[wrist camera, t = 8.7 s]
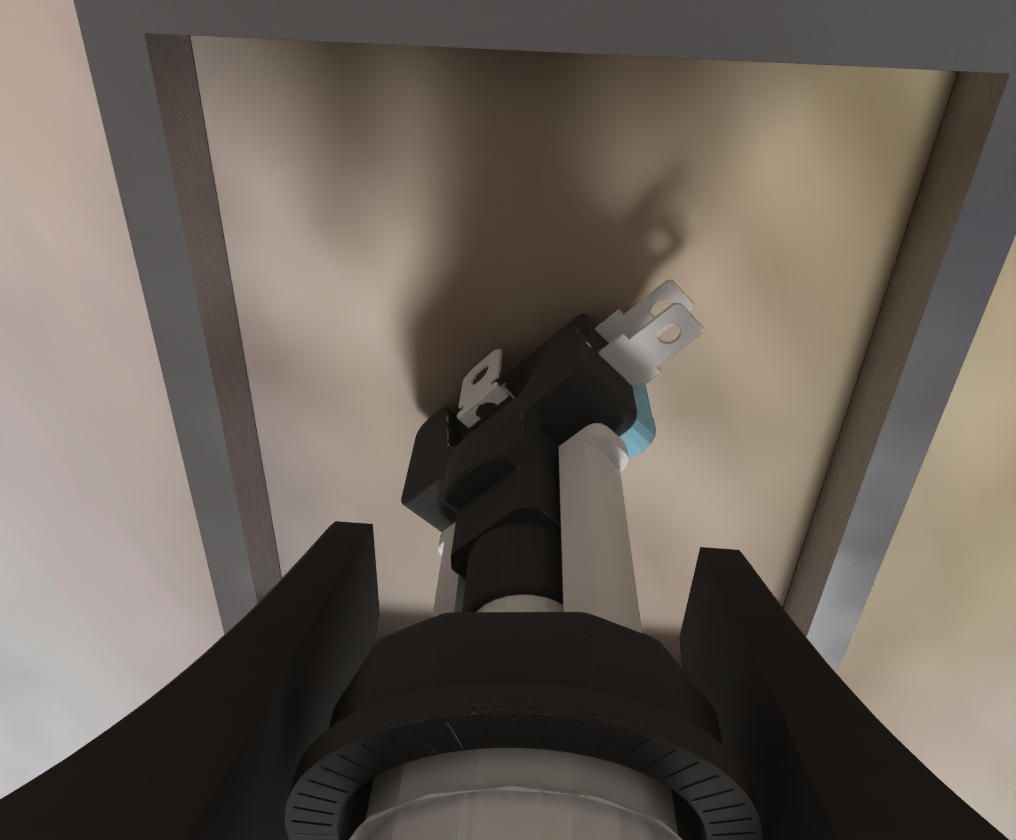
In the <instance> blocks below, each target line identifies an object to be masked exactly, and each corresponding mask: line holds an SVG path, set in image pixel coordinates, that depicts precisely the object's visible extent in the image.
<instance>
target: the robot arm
mask: <svg viewBox="0 0 1016 840" xmlns="http://www.w3.org/2000/svg"><path fill="white" fill-rule="evenodd" d="M379 616H380V612H379V599H378V586H377V573H376V560H375V547H374V534H373V524H365V523H351V522H337V521H336V522H334V523H333V524H332V525H331V526H329V527H328V529H327V530H326V531H325V532H324V533H323V534H322V535H321V536H320V538H319V539H318V540H317V541H316V542H315V543H314V544H313V545H312V546H311V548H310V549H309V550H308V551H307V552H306V553H305V554H304V555H303V556H302V558H301V559H300V560H299V561H298V562H297V563H296V564H295V565H294V566H293V567H292V568H291V569H290V570H289V571H288V573H287V574H286V575H285V576H284V577H283V578H282V579H281V580H280V581H279V582H278V583H277V584H276V585H275V586H274V587H273V588H272V589H271V590H270V591H269V592H268V593H267V594H266V595H265V596H264V597H263V598H262V599H261V600H260V601H259V602H258V603H257V604H256V605H255V606H254V607H253V608H252V609H251V610H250V611H249V612H248V613H247V614H246V615H245V616H244V617H243V618H242V619H241V620H240V621H239V622H238V623H237V624H236V625H235V626H234V627H232V628H231V629H230V630H229V631H228V632H227V633H226V634H225V635H224V636H223V637H222V638H220V639H219V640H218V641H217V642H216V643H215V644H214V645H213V646H212V647H211V648H210V649H209V650H207V651H206V652H205V653H204V654H203V655H202V656H201V657H200V658H198V659H197V660H196V661H195V662H194V663H193V664H191V665H190V666H189V667H188V668H187V669H186V670H184V671H183V672H182V673H181V674H180V675H178V676H177V677H176V678H175V679H174V680H172V681H171V682H170V683H169V684H167V685H166V686H165V687H164V688H162V689H161V690H160V691H159V692H157V693H156V694H155V695H153V696H152V697H151V698H150V699H148V700H147V701H146V702H145V703H143V704H142V705H141V706H139V707H138V708H137V709H135V710H134V711H133V712H131V713H130V714H128V715H127V716H126V717H124V718H123V719H122V720H120V721H119V722H117V723H116V724H115V725H113V726H112V727H111V728H109V729H108V730H106V731H105V732H104V733H102V734H101V735H99V736H98V737H96V738H95V739H93V740H92V741H91V742H89V743H88V744H86V745H85V746H83V747H82V748H81V749H79V750H78V751H76V752H75V753H73V754H72V755H70V756H69V757H67V758H66V759H64V760H63V761H61V762H60V763H58V764H57V765H55V766H53V767H52V768H50V769H49V770H47V771H46V772H44V773H42V774H41V775H39V776H38V777H36V778H34V779H33V780H31V781H30V782H28V783H26V784H25V785H23V786H22V787H20V788H18V789H17V790H15V791H13V792H12V793H10V794H8V795H7V796H5V797H3V798H2V799H0V840H289V838H288V835H287V831H286V827H285V809H286V804H287V800H288V796H289V793H290V789H291V786H292V782H293V778H294V775H295V771H296V768H297V766H298V764H299V762H300V760H301V758H302V756H303V755H304V753H305V752H306V751H307V749H308V748H309V746H310V745H311V744H312V743H313V742H314V741H315V740H316V739H317V738H318V737H319V736H320V735H321V734H322V733H323V732H325V731H326V730H328V728H329V725H330V721H331V717H332V713H333V709H334V707H335V705H336V704H337V702H338V701H339V699H340V698H341V696H342V694H343V693H344V691H345V690H346V688H347V687H348V685H349V684H350V682H351V681H352V679H353V678H354V676H355V675H356V673H357V671H358V670H359V668H360V667H361V665H362V664H363V662H364V661H365V659H366V658H367V656H368V655H369V653H370V652H371V650H372V648H373V645H374V640H375V635H376V631H377V626H378V621H379ZM679 638H680V649H681V660H682V669H683V670H684V672H685V673H686V674H687V675H688V677H689V678H690V679H691V680H692V682H693V683H694V684H695V685H696V686H697V688H698V689H699V690H700V691H701V693H702V694H703V695H704V696H705V697H706V699H707V700H708V701H709V702H710V704H711V705H712V706H713V708H714V709H715V711H716V715H717V719H718V724H719V729H720V733H721V738H722V743H723V745H724V746H725V747H726V748H727V749H728V750H729V751H730V752H731V753H732V754H733V755H734V757H735V758H736V759H737V760H738V761H739V763H740V764H741V766H742V767H743V769H744V770H745V771H746V773H747V776H748V778H749V780H750V782H751V785H752V788H753V793H754V797H755V801H756V805H757V809H758V814H759V818H760V823H761V827H762V840H1009V839H1008V838H1006V837H1005V836H1004V835H1003V834H1002V833H1001V832H999V831H998V830H997V829H996V828H995V827H994V826H992V825H991V824H990V823H989V822H988V821H987V820H985V819H984V818H983V817H982V816H981V815H979V814H978V813H977V812H976V811H975V810H974V809H972V808H971V807H970V806H969V805H968V804H967V803H965V802H964V801H963V800H962V799H961V798H960V797H959V796H957V795H956V794H955V793H954V792H953V791H952V790H951V789H950V788H949V787H947V786H946V785H945V784H944V783H943V782H942V781H941V780H940V779H939V778H937V777H936V776H935V775H934V774H933V773H932V772H931V771H930V770H929V769H928V768H927V767H926V766H925V765H924V764H923V763H922V762H921V761H920V760H919V759H918V758H917V757H915V756H914V755H913V754H912V753H911V752H910V751H909V750H908V749H907V748H906V747H905V746H904V745H903V744H902V743H901V742H900V741H899V740H898V739H897V738H896V737H895V736H894V735H893V734H892V733H891V732H890V731H889V730H888V729H887V728H886V727H885V726H884V725H883V724H882V723H881V722H880V721H879V720H878V719H877V718H876V717H875V716H874V715H873V714H872V713H871V712H870V710H869V709H868V708H867V707H866V706H865V705H864V704H863V703H862V702H861V701H860V699H859V698H858V697H857V696H856V695H855V694H854V693H853V692H852V691H851V690H850V688H849V687H848V686H847V685H846V684H845V683H844V682H843V681H842V679H841V678H840V677H839V676H838V675H837V674H836V672H835V671H834V670H833V669H832V668H831V667H830V665H829V664H828V663H827V662H826V661H825V659H824V658H823V657H822V656H821V655H820V653H819V652H818V651H817V650H816V648H815V647H814V646H813V645H812V644H811V642H810V641H809V640H808V639H807V638H806V636H805V635H804V634H803V633H802V631H801V630H800V629H799V628H798V626H797V625H796V624H795V623H794V621H793V620H792V619H791V618H790V616H789V615H788V614H787V612H786V611H785V610H784V608H783V607H782V606H781V604H780V603H779V602H778V601H777V599H776V598H775V597H774V595H773V594H772V593H771V591H770V590H769V589H768V587H767V586H766V585H765V583H764V582H763V581H762V579H761V578H760V577H759V575H758V574H757V573H756V571H755V570H754V569H753V567H752V566H751V564H750V563H749V562H748V560H747V559H746V558H745V557H744V555H743V554H742V553H741V552H740V551H739V550H732V549H718V548H704V547H700V551H699V555H698V559H697V564H696V568H695V572H694V577H693V581H692V585H691V590H690V594H689V598H688V603H687V607H686V611H685V616H684V620H683V624H682V629H681V633H680V637H679Z"/></svg>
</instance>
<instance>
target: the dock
mask: <svg viewBox="0 0 1016 840" xmlns="http://www.w3.org/2000/svg"><path fill="white" fill-rule="evenodd" d="M74 4H75V8H76V12H77V17H78V21H79V25H80V29H81V33H82V38H83V42H84V46H85V50H86V54H87V59H88V63H89V67H90V71H91V75H92V80H93V84H94V88H95V92H96V96H97V101H98V105H99V109H100V113H101V117H102V122H103V126H104V130H105V134H106V138H107V143H108V147H109V151H110V155H111V159H112V164H113V168H114V172H115V176H116V180H117V185H118V189H119V193H120V197H121V201H122V206H123V210H124V214H125V218H126V222H127V227H128V231H129V235H130V239H131V243H132V248H133V252H134V256H135V260H136V264H137V269H138V273H139V277H140V281H141V285H142V290H143V294H144V298H145V302H146V306H147V311H148V315H149V319H150V323H151V327H152V332H153V336H154V340H155V344H156V348H157V353H158V357H159V361H160V365H161V369H162V373H163V378H164V382H165V386H166V390H167V394H168V399H169V403H170V407H171V411H172V415H173V420H174V424H175V428H176V432H177V436H178V441H179V445H180V449H181V453H182V457H183V462H184V466H185V470H186V474H187V478H188V483H189V487H190V491H191V495H192V499H193V504H194V508H195V512H196V516H197V520H198V525H199V529H200V533H201V537H202V541H203V546H204V550H205V554H206V558H207V562H208V567H209V571H210V575H211V579H212V583H213V588H214V592H215V596H216V600H217V604H218V609H219V613H220V617H221V621H222V625H223V630H224V634H226V633H227V632H228V631H229V630H230V629H231V628H232V627H234V626H235V625H236V624H237V623H238V622H239V621H240V620H241V619H242V618H243V617H244V616H245V615H246V614H247V613H248V612H249V611H250V610H251V609H252V608H253V607H254V606H255V605H256V604H257V603H258V602H259V601H260V600H261V599H262V598H263V597H264V596H265V595H266V594H267V593H268V592H269V591H270V590H271V589H272V588H273V587H274V586H275V585H276V584H277V583H278V582H279V581H280V580H281V573H280V567H279V561H278V555H277V549H276V544H275V538H274V532H273V526H272V520H271V514H270V508H269V502H268V496H267V491H266V485H265V479H264V473H263V467H262V461H261V455H260V449H259V444H258V438H257V432H256V426H255V420H254V414H253V408H252V402H251V396H250V391H249V385H248V379H247V373H246V367H245V361H244V355H243V349H242V343H241V338H240V332H239V326H238V320H237V314H236V308H235V302H234V296H233V291H232V285H231V279H230V273H229V267H228V261H227V255H226V249H225V243H224V238H223V232H222V226H221V220H220V214H219V208H218V202H217V196H216V191H215V185H214V179H213V173H212V167H211V161H210V155H209V149H208V143H207V138H206V132H205V126H204V120H203V114H202V108H201V102H200V96H199V91H198V85H197V79H196V73H195V67H194V61H193V55H192V49H191V43H190V38H189V35H197V36H218V37H239V38H261V39H282V40H304V41H325V42H347V43H368V44H390V45H411V46H432V47H454V48H475V49H497V50H518V51H540V52H561V53H583V54H604V55H625V56H647V57H668V58H690V59H711V60H733V61H754V62H776V63H797V64H818V65H840V66H861V67H883V68H904V69H926V70H947V71H959V73H958V76H957V79H956V82H955V85H954V88H953V92H952V95H951V98H950V101H949V104H948V107H947V110H946V113H945V116H944V119H943V122H942V125H941V128H940V131H939V134H938V137H937V140H936V143H935V146H934V150H933V153H932V156H931V159H930V162H929V165H928V168H927V171H926V174H925V177H924V180H923V183H922V186H921V189H920V192H919V195H918V198H917V201H916V205H915V208H914V211H913V214H912V217H911V220H910V223H909V226H908V229H907V232H906V235H905V238H904V241H903V244H902V247H901V250H900V253H899V256H898V259H897V263H896V266H895V269H894V272H893V275H892V278H891V281H890V284H889V287H888V290H887V293H886V296H885V299H884V302H883V305H882V308H881V311H880V314H879V318H878V321H877V324H876V327H875V330H874V333H873V336H872V339H871V342H870V345H869V348H868V351H867V354H866V357H865V360H864V363H863V366H862V369H861V373H860V376H859V379H858V382H857V385H856V388H855V391H854V394H853V397H852V400H851V403H850V406H849V409H848V412H847V415H846V418H845V421H844V424H843V427H842V431H841V434H840V437H839V440H838V443H837V446H836V449H835V452H834V455H833V458H832V461H831V464H830V467H829V470H828V473H827V476H826V479H825V482H824V486H823V489H822V492H821V495H820V498H819V501H818V504H817V507H816V510H815V513H814V516H813V519H812V522H811V525H810V528H809V531H808V534H807V537H806V541H805V544H804V547H803V550H802V553H801V556H800V559H799V562H798V565H797V568H796V571H795V574H794V577H793V580H792V583H791V586H790V589H789V592H788V595H787V599H786V602H785V605H784V610H785V611H786V612H787V614H788V615H789V616H790V618H791V619H792V620H793V621H794V623H795V624H796V625H797V626H798V628H799V629H800V630H801V631H802V633H803V634H804V635H805V636H806V638H807V639H808V640H809V641H810V642H811V644H812V645H813V646H814V647H815V648H816V650H817V651H818V652H819V653H820V655H821V656H822V657H823V658H824V659H825V661H826V662H827V663H828V664H829V665H830V667H831V668H832V669H833V670H834V671H835V672H836V674H837V672H838V669H839V667H840V664H841V662H842V659H843V657H844V654H845V652H846V650H847V647H848V645H849V642H850V640H851V637H852V635H853V632H854V630H855V627H856V625H857V623H858V620H859V618H860V615H861V613H862V610H863V608H864V605H865V603H866V600H867V598H868V596H869V593H870V591H871V588H872V586H873V583H874V581H875V578H876V576H877V574H878V571H879V569H880V566H881V564H882V561H883V559H884V556H885V554H886V551H887V549H888V547H889V544H890V542H891V539H892V537H893V534H894V532H895V529H896V527H897V524H898V522H899V520H900V517H901V515H902V512H903V510H904V507H905V505H906V502H907V500H908V497H909V495H910V493H911V490H912V488H913V485H914V483H915V480H916V478H917V475H918V473H919V470H920V468H921V466H922V463H923V461H924V458H925V456H926V453H927V451H928V448H929V446H930V443H931V441H932V439H933V436H934V434H935V431H936V429H937V426H938V424H939V421H940V419H941V416H942V414H943V412H944V409H945V407H946V404H947V402H948V399H949V397H950V394H951V392H952V389H953V387H954V385H955V382H956V380H957V377H958V375H959V372H960V370H961V367H962V365H963V362H964V360H965V358H966V355H967V353H968V350H969V348H970V345H971V343H972V340H973V338H974V335H975V333H976V331H977V328H978V326H979V323H980V321H981V318H982V316H983V313H984V311H985V308H986V306H987V304H988V301H989V299H990V296H991V294H992V291H993V289H994V286H995V284H996V281H997V279H998V277H999V274H1000V272H1001V269H1002V267H1003V264H1004V262H1005V259H1006V257H1007V254H1008V252H1009V250H1010V247H1011V245H1012V242H1013V240H1014V237H1015V235H1016V0H74ZM373 647H374V646H373Z"/></svg>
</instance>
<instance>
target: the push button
mask: <svg viewBox="0 0 1016 840" xmlns="http://www.w3.org/2000/svg"><path fill="white" fill-rule="evenodd" d="M661 300H666V301H669V302H670V303H671V304H672V305H670V306H669V307H668V308H666V309H665V310H664V311H663V312H661V313H660V314H659V315H657V316H656V317H654V316H653V315H652V314H651V308H652V306H653V305H654V304H655V303H656V302H658V301H661ZM693 307H694V303H693V302H692V301H691V299H690V298H689V297H688V296H687V295H686V294H685V293H684V292H683V291H682V290H681V289H680V288H679V286H678V285H677V284H676V283H675V282H674V281H673V280H666V281H665V282H664V283H662V284H661V285H660V286H659V287H657V288H656V289H655V290H654V291H652V292H651V293H650V294H649V295H647V296H646V297H645V298H644V299H642V300H641V301H640V302H639V303H637V304H636V305H635V306H634V307H632V308H631V309H630V310H629V311H627V312H626V313H625V314H623V313H622V312H621V311H620V310H619V309H618V310H617V311H616V312H615V313H613V314H612V315H611V316H610V317H608V318H607V319H606V320H605V321H603V322H602V323H601V324H600V325H597V324H596V323H595V322H594V321H593V320H592V319H591V318H590V317H589V316H588V315H587V314H581V315H579V316H577V317H576V318H574V319H573V320H572V321H571V322H569V323H568V324H567V325H566V326H565V327H563V328H562V329H561V330H560V331H559V332H557V333H556V334H555V335H554V336H553V337H551V338H550V339H549V340H548V341H547V342H545V343H544V344H543V345H542V346H541V347H539V348H538V349H537V350H536V351H534V352H533V353H532V354H531V355H530V356H528V357H527V358H526V359H525V360H524V361H522V362H521V363H520V364H519V365H518V366H516V367H515V368H514V369H513V370H512V371H510V372H509V373H508V374H507V375H505V376H504V377H503V378H502V379H501V380H499V379H500V373H501V361H502V351H501V350H500V349H497V350H494V351H493V352H491V353H490V354H489V355H488V356H487V357H486V358H484V359H483V360H482V361H481V362H480V363H479V364H477V365H476V366H475V367H474V368H473V369H472V370H470V371H469V372H468V374H467V375H466V377H465V378H464V380H463V383H462V389H461V395H460V401H459V408H460V409H461V411H460V412H459V413H458V414H457V416H455V415H454V414H453V413H451V412H450V411H449V410H448V409H447V408H442V409H440V410H439V411H437V412H436V413H435V414H434V415H433V416H431V417H430V418H429V419H428V420H427V421H426V422H425V423H424V424H423V425H422V426H421V428H420V429H419V431H418V433H417V435H416V439H415V443H414V447H413V451H412V456H411V460H410V464H409V468H408V473H407V477H406V481H405V485H404V489H403V494H402V498H401V502H402V504H403V505H404V506H406V507H407V508H408V509H410V510H411V511H413V512H414V513H416V514H417V515H418V516H420V517H421V518H423V519H424V520H425V521H427V522H428V523H430V524H431V525H432V526H434V527H435V528H437V529H438V530H440V531H441V532H442V534H441V535H440V541H439V547H438V550H439V554H440V555H441V556H442V559H441V565H440V572H439V578H438V585H437V591H436V598H435V605H434V611H433V617H432V618H430V619H427V620H425V621H423V622H420V623H418V624H415V625H413V626H410V627H408V628H405V629H403V630H401V631H398V632H396V633H393V634H391V635H388V636H386V637H384V638H382V639H381V640H379V641H378V642H377V643H376V644H375V645H374V647H373V648H372V650H371V652H370V653H369V655H368V656H367V658H366V659H365V661H364V662H363V664H362V665H361V667H360V668H359V670H358V671H357V673H356V675H355V676H354V678H353V679H352V681H351V682H350V684H349V685H348V687H347V688H346V690H345V691H344V693H343V694H342V696H341V698H340V699H339V701H338V702H337V704H336V705H335V707H334V709H333V713H332V717H331V721H330V725H329V728H328V730H326V731H325V732H323V733H322V734H321V735H320V736H319V737H318V738H317V739H316V740H315V741H314V742H313V743H312V744H311V745H310V746H309V748H308V749H307V751H306V752H305V753H304V755H303V756H302V758H301V760H300V762H299V764H298V766H297V768H296V771H295V775H294V778H293V782H292V786H291V789H290V793H289V796H288V800H287V804H286V809H285V827H286V831H287V835H288V838H289V840H762V827H761V823H760V818H759V814H758V809H757V805H756V801H755V797H754V793H753V788H752V785H751V782H750V780H749V778H748V776H747V773H746V771H745V770H744V769H743V767H742V766H741V764H740V763H739V761H738V760H737V759H736V758H735V757H734V755H733V754H732V753H731V752H730V751H729V750H728V749H727V748H726V747H725V746H724V745H723V743H722V738H721V733H720V729H719V724H718V719H717V715H716V711H715V709H714V708H713V706H712V705H711V704H710V702H709V701H708V700H707V699H706V697H705V696H704V695H703V694H702V693H701V691H700V690H699V689H698V688H697V686H696V685H695V684H694V683H693V682H692V680H691V679H690V678H689V677H688V675H687V674H686V673H685V672H684V670H683V669H682V668H681V667H680V666H679V664H678V663H677V662H676V661H675V659H674V658H673V657H672V656H671V654H670V653H669V652H668V651H667V650H666V648H665V647H664V646H663V645H662V644H661V643H660V642H659V641H658V640H657V639H655V638H653V637H651V636H648V635H646V634H643V633H642V628H641V620H640V613H639V606H638V599H637V591H636V584H635V577H634V569H633V562H632V555H631V547H630V540H629V533H628V526H627V518H626V511H625V504H624V496H623V489H622V482H621V474H620V472H621V471H622V470H624V469H625V467H626V466H627V465H628V461H629V460H631V459H632V458H634V457H635V456H637V455H638V454H640V453H641V452H642V451H644V450H645V449H646V448H647V447H648V446H649V445H650V444H651V443H652V441H653V439H654V437H655V433H656V427H655V423H654V418H653V417H652V413H651V408H650V404H649V399H648V394H647V390H646V385H645V384H646V383H648V382H649V381H650V380H652V379H653V378H654V377H656V376H657V375H658V374H660V373H661V369H660V368H659V367H658V366H659V365H660V364H661V363H663V362H664V361H665V360H667V359H668V358H670V357H671V356H672V355H674V354H675V353H676V352H678V351H679V350H680V349H682V348H683V347H684V346H686V345H687V344H689V343H690V342H691V341H693V340H694V339H695V338H697V337H698V336H699V335H701V334H702V330H703V327H702V325H701V324H700V323H699V322H698V321H697V320H696V319H695V318H694V317H693V316H692V314H691V313H690V312H691V311H692V310H693ZM674 324H675V325H677V326H678V327H679V328H680V334H679V336H678V337H677V338H676V339H675V340H673V341H671V342H664V341H661V340H660V339H659V338H658V336H659V335H661V334H662V333H663V332H665V331H666V330H667V329H669V328H670V327H671V326H673V325H674ZM486 368H488V371H487V372H486V374H485V375H484V377H483V378H482V379H481V380H480V381H479V382H478V383H476V384H474V382H475V380H476V378H477V377H478V376H479V374H480V373H481V372H482V371H483V370H485V369H486ZM498 380H499V381H498ZM496 381H498V382H496Z"/></svg>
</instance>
